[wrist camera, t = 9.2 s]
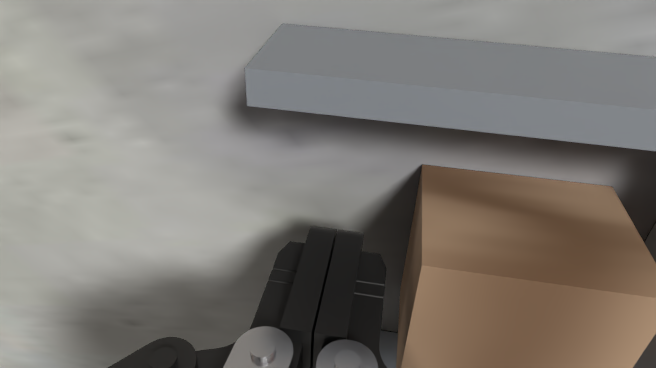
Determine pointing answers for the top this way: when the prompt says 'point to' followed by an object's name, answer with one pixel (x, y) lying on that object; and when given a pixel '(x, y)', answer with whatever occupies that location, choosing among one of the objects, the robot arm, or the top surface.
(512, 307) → the tile block
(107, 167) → the top surface
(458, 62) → the bin
